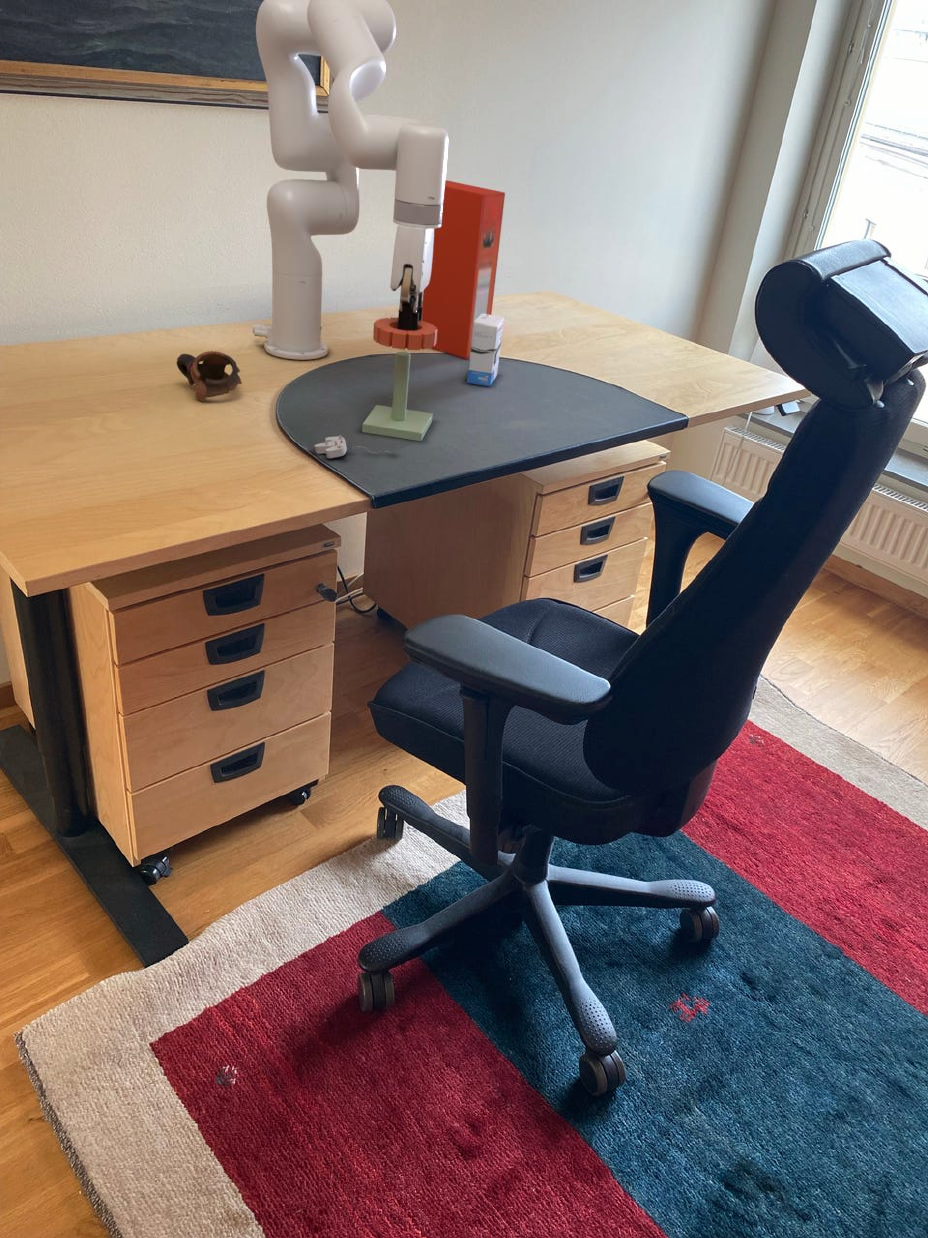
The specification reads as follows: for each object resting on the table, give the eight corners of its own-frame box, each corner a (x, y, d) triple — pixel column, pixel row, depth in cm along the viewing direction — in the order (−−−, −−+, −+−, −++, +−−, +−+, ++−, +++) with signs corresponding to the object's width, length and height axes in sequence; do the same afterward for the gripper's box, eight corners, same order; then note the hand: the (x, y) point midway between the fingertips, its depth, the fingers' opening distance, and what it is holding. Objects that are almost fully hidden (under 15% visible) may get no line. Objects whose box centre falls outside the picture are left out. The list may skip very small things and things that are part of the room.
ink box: (490, 387, 183) (498, 326, 177) (465, 383, 184) (472, 322, 177) (497, 375, 190) (505, 316, 184) (473, 371, 191) (480, 312, 185)
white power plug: (310, 447, 148) (310, 431, 146) (378, 443, 153) (379, 427, 151) (322, 461, 144) (322, 445, 142) (392, 456, 149) (393, 440, 147)
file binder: (465, 359, 197) (483, 194, 180) (400, 339, 205) (412, 179, 188) (486, 353, 203) (506, 192, 186) (423, 333, 211) (436, 177, 194)
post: (361, 432, 156) (365, 357, 149) (375, 412, 164) (380, 341, 158) (421, 441, 155) (427, 366, 149) (432, 421, 164) (438, 349, 157)
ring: (367, 344, 148) (367, 328, 147) (381, 328, 157) (382, 314, 156) (429, 353, 148) (430, 338, 146) (440, 337, 156) (441, 322, 155)
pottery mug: (250, 390, 168) (251, 358, 161) (225, 427, 164) (225, 395, 156) (188, 363, 168) (186, 329, 161) (161, 399, 163) (159, 366, 156)
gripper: (404, 203, 153) (397, 318, 162) (382, 217, 139) (375, 342, 148) (450, 210, 152) (440, 325, 162) (432, 224, 138) (422, 349, 148)
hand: (409, 332), depth 155 cm, fingers closed on ring, 2 cm apart
